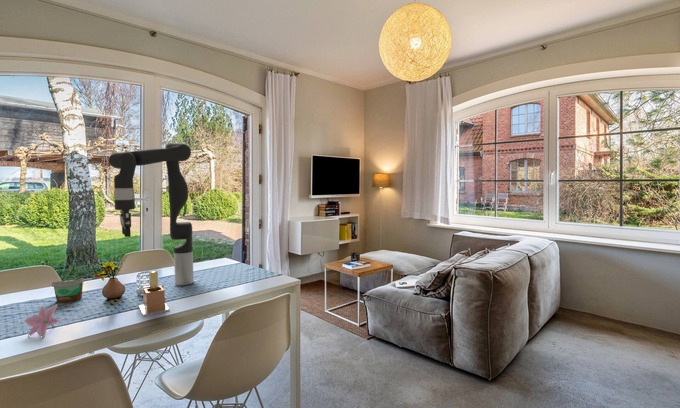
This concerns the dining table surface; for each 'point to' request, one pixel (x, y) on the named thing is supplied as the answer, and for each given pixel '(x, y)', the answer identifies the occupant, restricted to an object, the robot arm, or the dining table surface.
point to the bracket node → (153, 301)
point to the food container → (68, 290)
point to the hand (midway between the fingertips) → (126, 235)
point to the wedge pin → (153, 280)
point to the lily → (42, 321)
